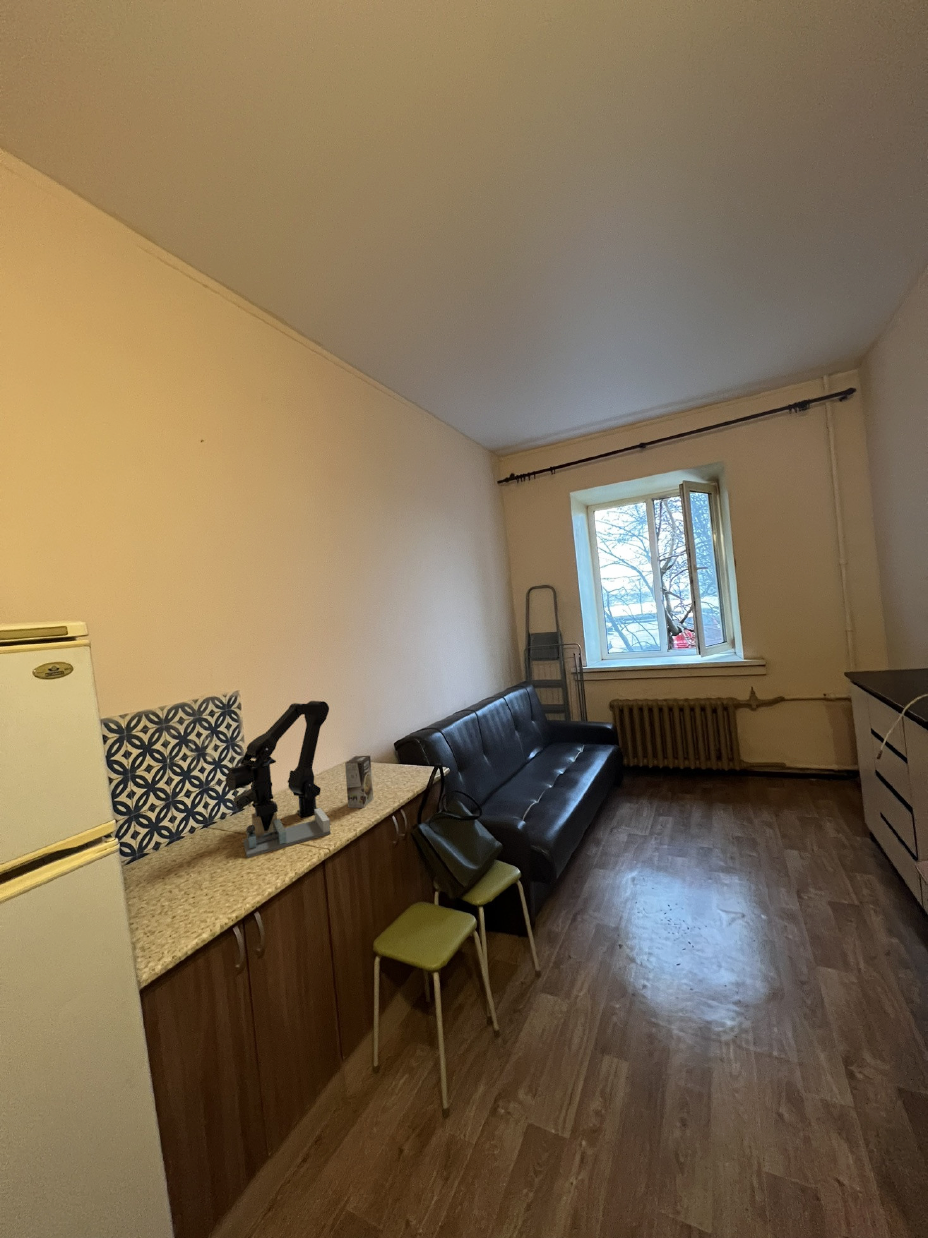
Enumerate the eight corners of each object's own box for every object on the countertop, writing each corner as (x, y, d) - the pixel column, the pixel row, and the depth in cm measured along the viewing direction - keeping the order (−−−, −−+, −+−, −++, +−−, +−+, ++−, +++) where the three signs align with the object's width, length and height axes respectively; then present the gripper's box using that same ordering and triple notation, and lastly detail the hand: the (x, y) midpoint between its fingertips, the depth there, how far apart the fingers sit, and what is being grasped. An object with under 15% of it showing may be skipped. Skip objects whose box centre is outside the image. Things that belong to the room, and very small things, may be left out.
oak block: (252, 832, 156) (251, 814, 156) (275, 826, 160) (274, 808, 160) (254, 837, 152) (253, 819, 152) (278, 831, 155) (276, 813, 155)
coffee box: (364, 808, 170) (361, 762, 170) (347, 808, 171) (344, 762, 171) (374, 798, 179) (371, 755, 179) (358, 798, 180) (354, 755, 180)
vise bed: (243, 842, 149) (241, 828, 149) (321, 821, 161) (320, 808, 161) (247, 858, 138) (245, 842, 138) (330, 834, 150) (329, 819, 150)
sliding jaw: (245, 837, 149) (244, 819, 149) (280, 828, 154) (278, 811, 154) (249, 852, 139) (248, 833, 139) (286, 842, 144) (285, 823, 144)
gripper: (231, 778, 160) (235, 825, 160) (236, 794, 144) (240, 846, 144) (267, 771, 165) (271, 816, 165) (276, 785, 149) (279, 835, 149)
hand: (265, 828), depth 156 cm, fingers closed on oak block, 5 cm apart
